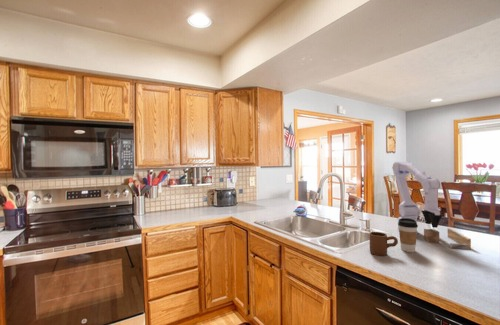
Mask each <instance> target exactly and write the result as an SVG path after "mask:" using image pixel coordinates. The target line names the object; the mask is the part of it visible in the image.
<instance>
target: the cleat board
mask: <svg viewBox="0 0 500 325" xmlns="http://www.w3.org/2000/svg"><path fill="white" fill-rule="evenodd" d="M447 238H449V239H450V240H452V241H454V242H450V243H449V242H448V241H446V240H444V239H443V238H442V237H440V236H439V243H442V244H443V245H444V246H446V247H447V248H450V249H461V250H462V249H463V250H471V249H472V246H471V244H472V240H471V238H469V237H467V236H465V235H464V234H461V233H460V232H458V231H456V230H453V229H452V228H447Z"/></svg>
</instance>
